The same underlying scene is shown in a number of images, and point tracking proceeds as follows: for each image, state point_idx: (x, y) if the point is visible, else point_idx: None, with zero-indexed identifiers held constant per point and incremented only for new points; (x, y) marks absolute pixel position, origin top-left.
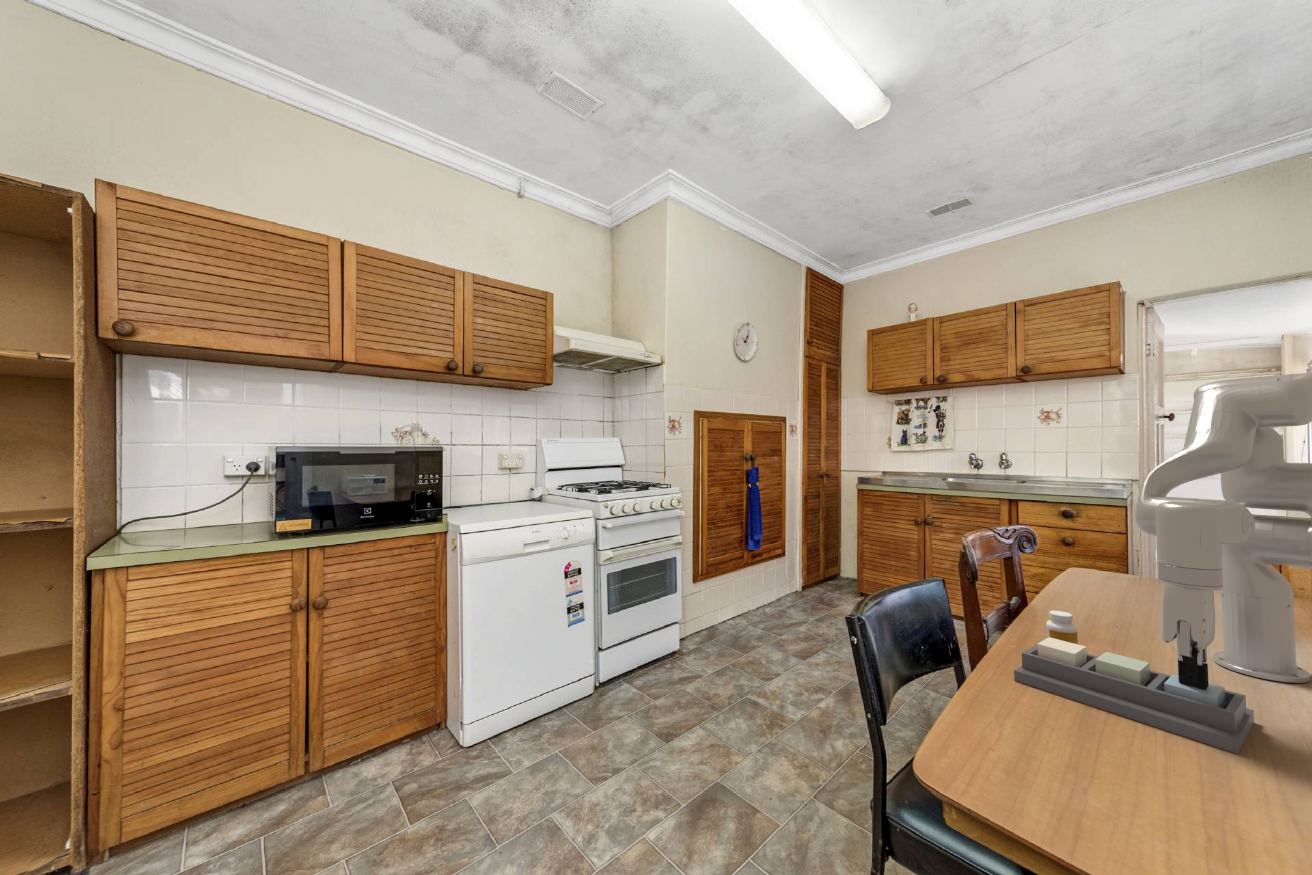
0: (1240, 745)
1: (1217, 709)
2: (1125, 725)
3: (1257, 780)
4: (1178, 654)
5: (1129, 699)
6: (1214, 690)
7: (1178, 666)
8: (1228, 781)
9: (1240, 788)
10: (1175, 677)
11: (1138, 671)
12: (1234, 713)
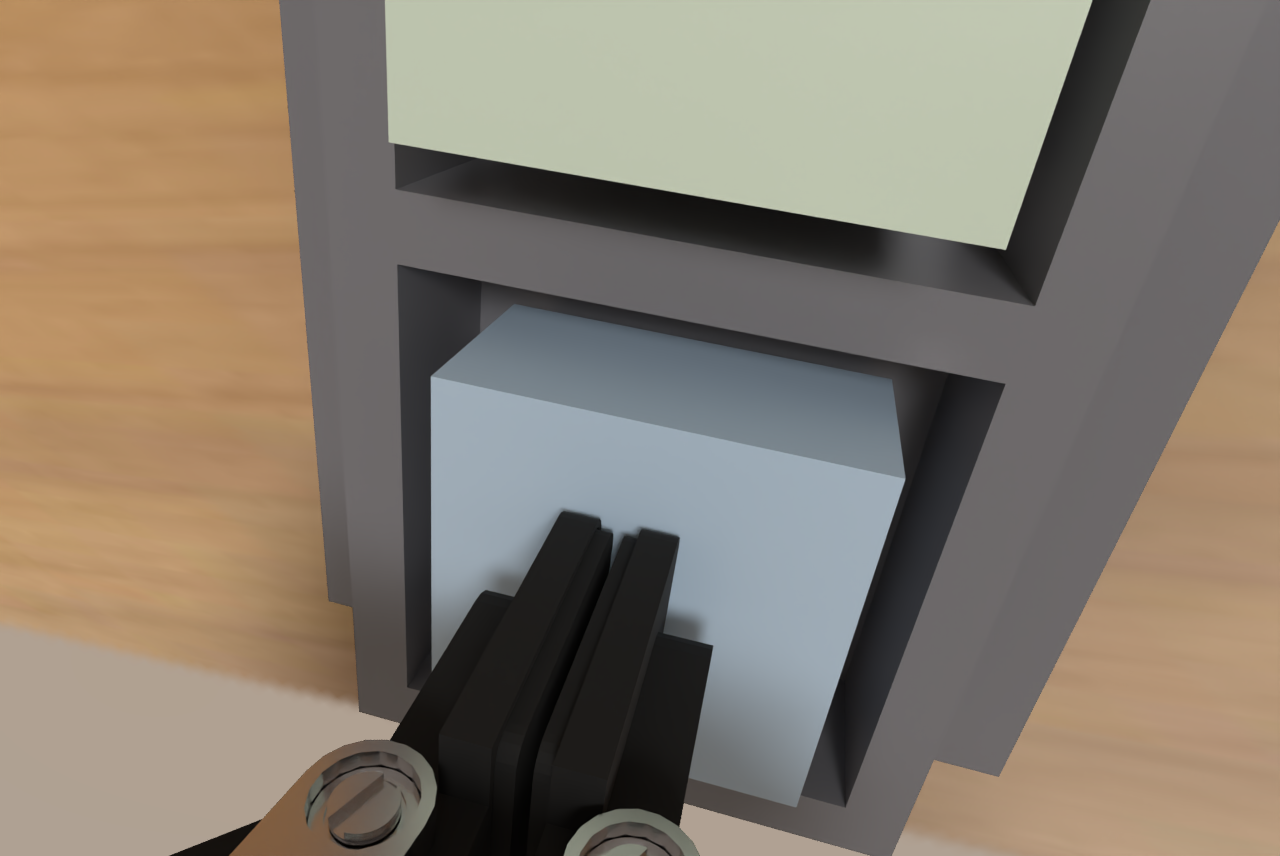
0: None
1: (358, 641)
2: (190, 9)
3: (161, 568)
4: (255, 837)
5: None
6: None
7: (487, 647)
8: (33, 474)
9: (19, 503)
10: (762, 488)
11: (392, 123)
12: (372, 713)
